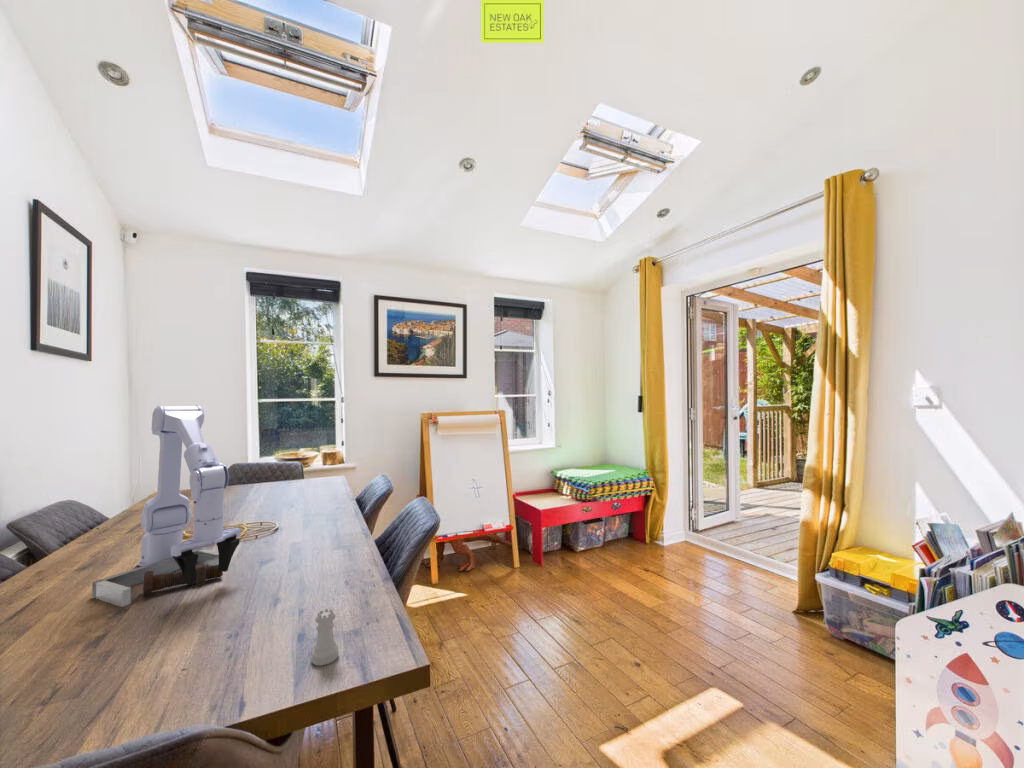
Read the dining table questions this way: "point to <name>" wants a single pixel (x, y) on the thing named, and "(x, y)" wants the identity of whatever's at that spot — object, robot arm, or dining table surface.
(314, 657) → the rook chess piece
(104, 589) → the keeper
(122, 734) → the dining table surface
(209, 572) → the bolt
